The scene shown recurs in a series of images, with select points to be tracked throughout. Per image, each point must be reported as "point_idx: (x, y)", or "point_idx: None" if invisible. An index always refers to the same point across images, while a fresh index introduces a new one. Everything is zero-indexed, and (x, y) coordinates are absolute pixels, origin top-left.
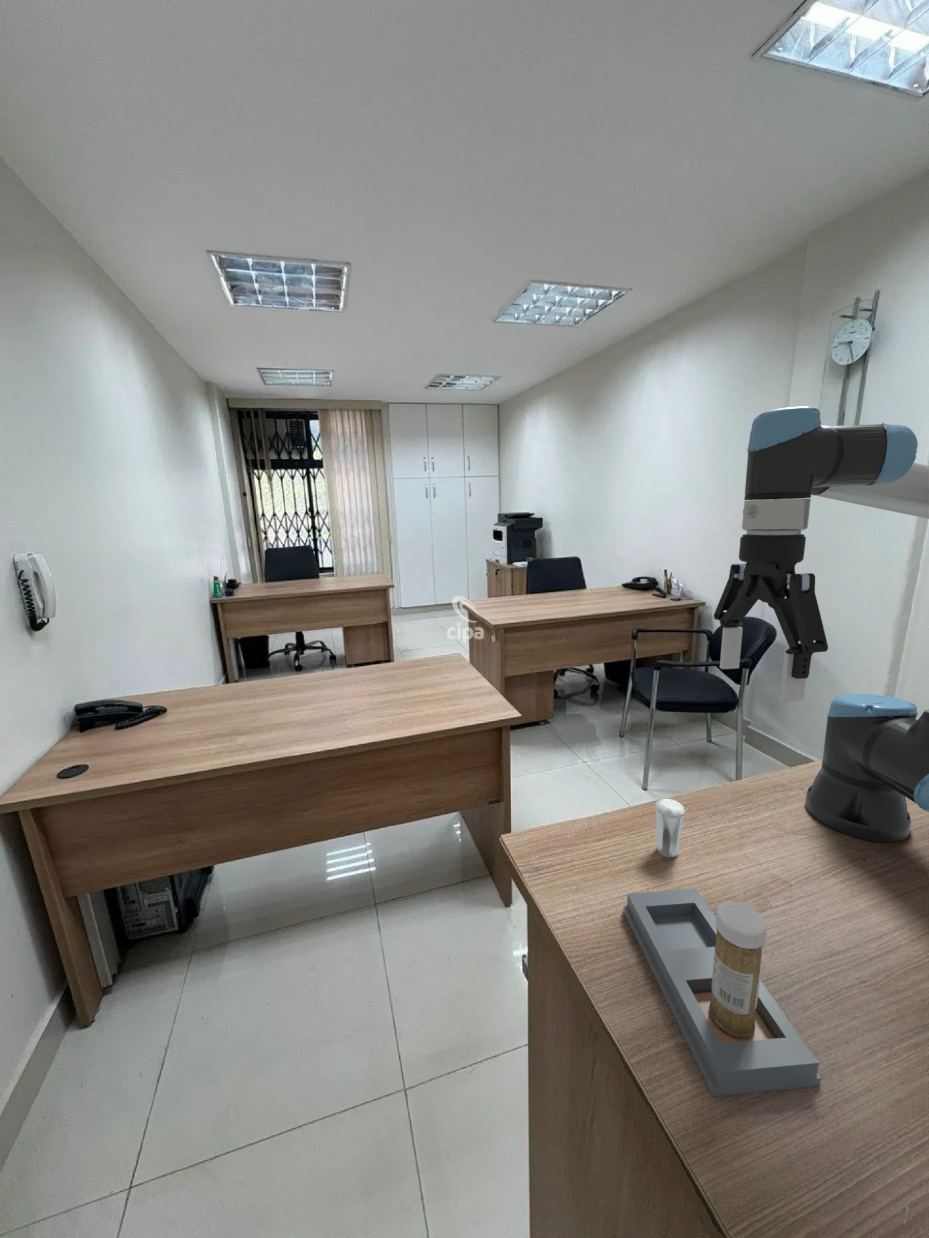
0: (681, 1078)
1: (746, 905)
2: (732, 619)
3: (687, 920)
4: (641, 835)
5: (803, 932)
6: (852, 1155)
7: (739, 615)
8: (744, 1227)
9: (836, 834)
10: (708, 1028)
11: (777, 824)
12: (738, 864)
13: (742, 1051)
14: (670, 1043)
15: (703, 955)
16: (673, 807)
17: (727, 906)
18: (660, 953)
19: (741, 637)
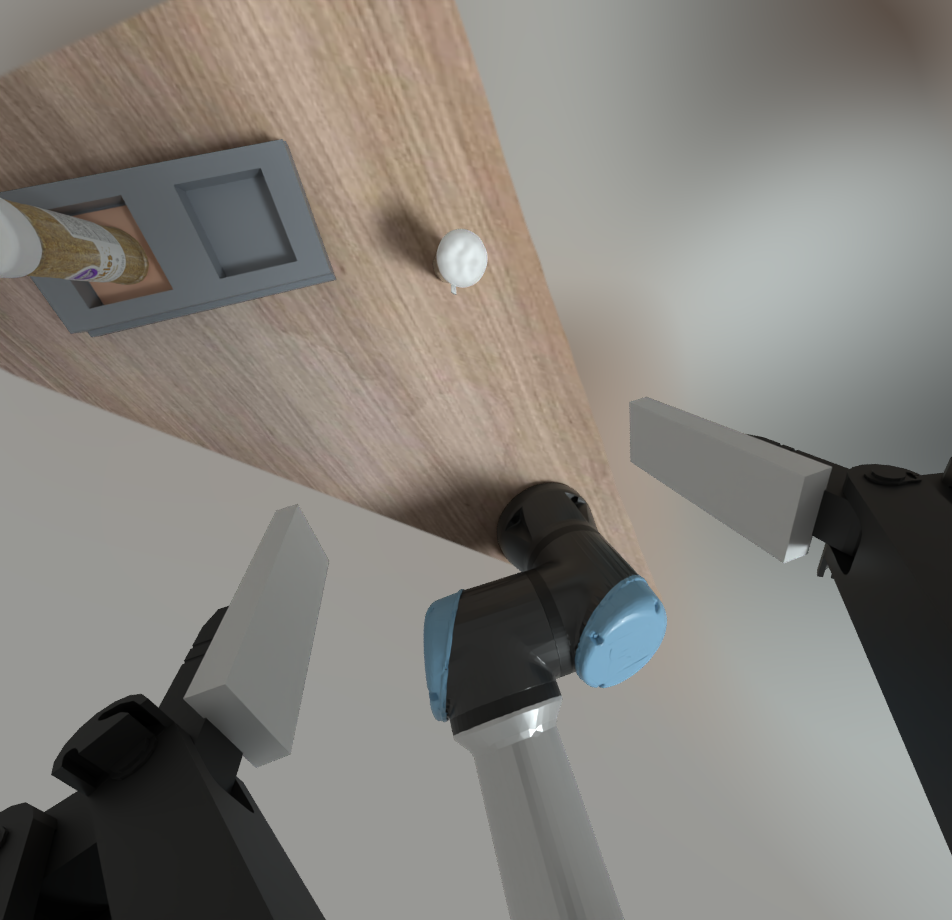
0: (8, 161)
1: (5, 253)
2: (865, 545)
3: (287, 249)
4: (481, 230)
5: (327, 400)
6: (28, 336)
7: (875, 604)
8: None
9: (507, 495)
10: (44, 204)
11: (522, 440)
12: (435, 365)
13: None
14: (57, 160)
15: (186, 240)
16: (453, 261)
17: None
18: (159, 166)
19: (733, 527)
